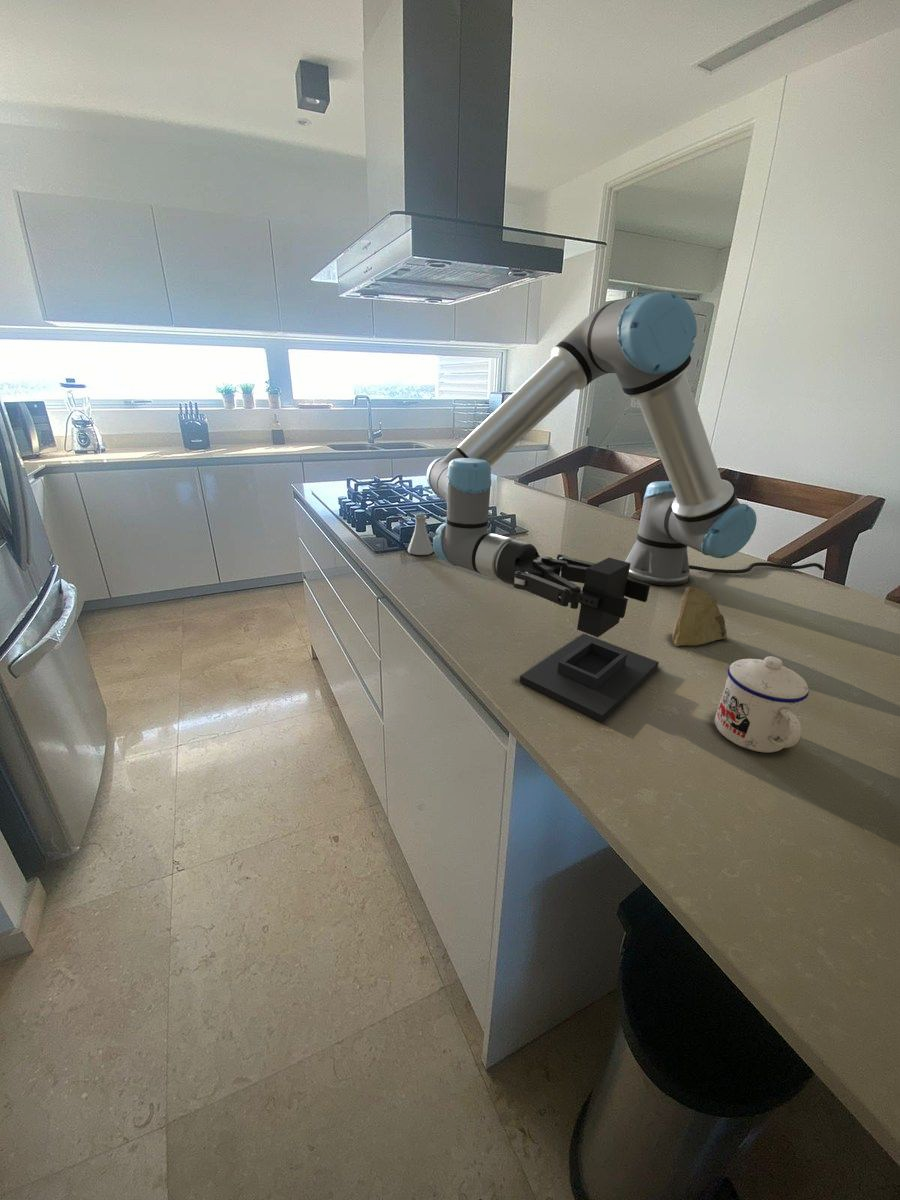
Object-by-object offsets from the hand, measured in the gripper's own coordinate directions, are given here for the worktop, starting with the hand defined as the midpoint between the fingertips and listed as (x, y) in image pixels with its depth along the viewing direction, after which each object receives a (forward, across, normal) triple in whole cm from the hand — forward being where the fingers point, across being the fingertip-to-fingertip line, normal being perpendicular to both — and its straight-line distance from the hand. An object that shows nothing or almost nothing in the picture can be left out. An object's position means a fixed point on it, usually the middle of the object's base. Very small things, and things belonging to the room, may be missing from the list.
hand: (636, 600), depth 70 cm
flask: (-68, -23, -15) cm, 73 cm away
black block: (-5, 0, -6) cm, 8 cm away
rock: (+4, -26, -15) cm, 30 cm away
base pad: (-5, 0, -15) cm, 16 cm away
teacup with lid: (+19, -2, -15) cm, 24 cm away
